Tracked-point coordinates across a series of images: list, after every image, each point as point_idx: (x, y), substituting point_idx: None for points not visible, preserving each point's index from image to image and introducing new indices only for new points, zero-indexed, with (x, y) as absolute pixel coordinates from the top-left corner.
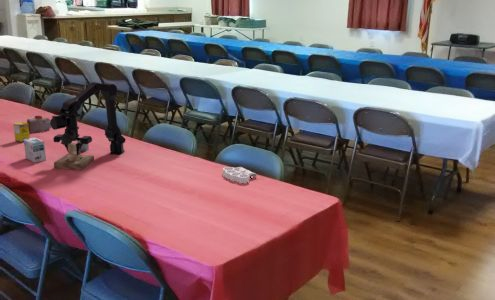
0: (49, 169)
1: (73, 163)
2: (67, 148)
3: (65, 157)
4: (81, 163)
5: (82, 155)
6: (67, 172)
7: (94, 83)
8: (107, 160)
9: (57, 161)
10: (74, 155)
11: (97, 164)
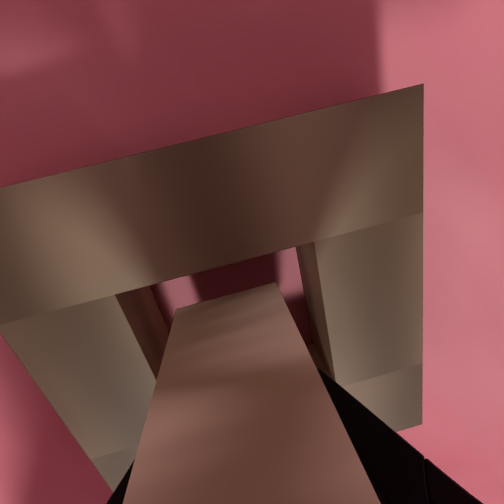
0: (399, 27)
1: (92, 193)
2: (411, 492)
3: (379, 339)
4: None
5: None
6: (86, 14)
7: None
8: (54, 500)
9: (393, 160)
10: (186, 370)
11: (32, 405)
